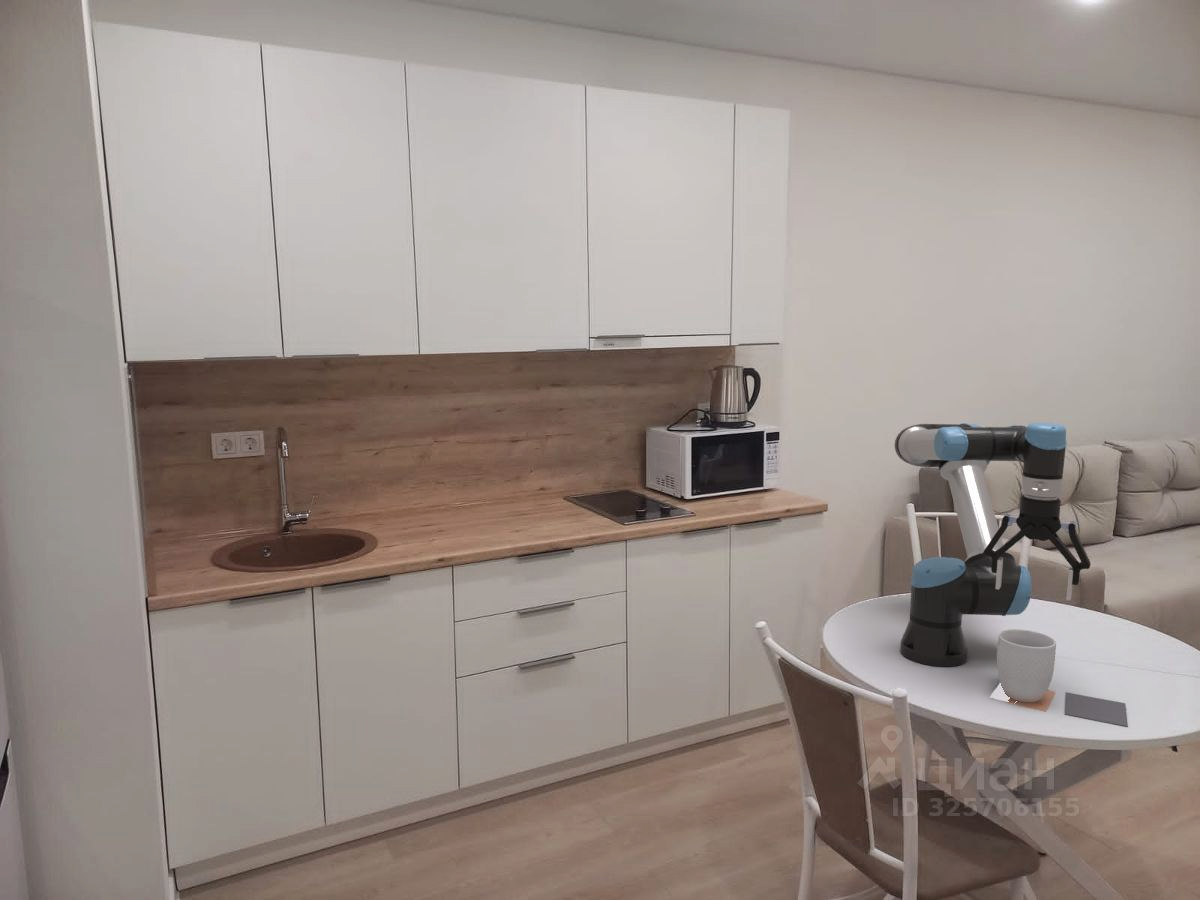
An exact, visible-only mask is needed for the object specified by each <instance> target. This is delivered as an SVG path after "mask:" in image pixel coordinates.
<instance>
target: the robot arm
mask: <svg viewBox="0 0 1200 900" xmlns="http://www.w3.org/2000/svg"><path fill="white" fill-rule="evenodd" d="M1066 448H1067V429H1066V427H1065V426H1064V425H1063V424H1060V423H1054V422H1052V423H1051V422H1031V423H1029V424H1027V426H1025V425H1016V424H1015V425H1014V424H1011V425H1008V426H1003V427H1002V426H999V427H998V426H989V427H987V426H985V427H982V426H980V425H978V424H968V423H966V422H965V423H959V424H958V423H956V424H955V423H954V424H953V423H952V424H950V423H949V424H948V423H947V424H945V423H920V424H913V425H911V426H908V427H905V428H903V429H902V430H901V431H900V432H898V434H897V435H896V438H895V440H894V450H895V453H896V455H897V457H898V458H899V459H900V460H901V461H902V462H905V463H907V464H909V465H911V466H915V467H921V468H938V470H939V474H940V477H942V479H944V480H946V481H948V485H949V488H950V491H951V493H950V494H951V496H952V500H953V504H954V509H955V512H956V515H957V519H958V524H959V528H960V532H961V536H962V539H963V543H964V548H965V552H966V556H967V557H966V559H965V560H964V561H963V560H962V559H960V558H957V557H947V556H937V557H929V558H923V559H921V560H919V561H918V562H916V563H915V564H914V565H913V567H912V573H911V574H912V575H911V578H910V586H911V587H910V602H909V604H910V607H909V619H908V620H909V621H908V623H907V626H906V628H905V631H904V633H903V634H902V638H901V639H900V644H899V645H900V650H899V651H900V654H901V655H902V656H904V657H905V658H907V659H908V660H911V661H913V662H916V663H920V664H923V665H928V666H935V667H957V666H961V665H963V664H965V663H966V662H967V661H968V653H969V651H968V647H967V643H966V640H965V636H964V632H963V629H962V622H963V621H962V619H963V616H964V615H973V616H974V615H977V616H979V615H980V616H982V615H984V616H1002V617H1005V616H1017V615H1021V614H1023V612H1024V611H1026V609H1027V608H1028V606H1029V603H1030V601H1031V600H1030V599H1031V596H1032V589H1033V587H1032V584H1033V583H1032V577H1031V573H1030V571H1029V569H1028V568H1027V567H1025V566H1023V565H1017V564H1016V560H1015V556H1014V555H1013V554H1012V553H1011V552H1009V551H1008V550H1010V549H1011V548H1012V547H1013V546H1014V545H1015V544H1017V543H1018V542H1019V541H1021V540H1022V539H1023V538H1024V537H1025V538H1027V539H1028V540H1033V541H1034V540H1039V542H1040V541H1041V542H1045V541H1048V540H1049V541H1050V542H1051V544H1052V545H1053V546H1055V548H1056V549H1057V550H1058V552H1059V553H1060V554H1061V555H1062V557H1063V558H1064V559H1065V561H1066V562H1067V563H1068V564H1069V565H1070V567H1069V568H1068V569H1069V570H1068V578H1067V589H1066V601H1068V602H1069V601H1070V602H1071V600H1072V594H1073V585H1074V586H1078V585H1079V583H1080V576H1081V571H1082V570H1089V569H1090V568H1091V561H1090V559H1089V556H1088V554H1087V551H1086V550H1085V548H1084V546H1083V543H1082V542H1081V539H1080V537H1079V535H1078V533H1077V523H1076V522H1075V521H1070V522H1061V520H1060V514H1061V513H1060V512H1061V505H1062V504H1061V503H1062V502H1061V500H1060V497H1062V491H1063V490H1062V489H1063V483H1064V482H1063V479H1064V478H1063V477H1064V476H1063V475H1064V468H1065V458H1066V457H1065V456H1066ZM990 462H1020V463H1023V465H1022V466H1023V467H1022V476H1021V477H1022V479H1021V489H1020V493H1021V494H1022V496H1021V497H1020V503H1019V504H1020V505H1019V515H1018V516H1017V517H1016V516H1014V515H1010V514H1009V513H1006V514H1004V516H1003V517H1002V520H1001V525H1000V526H998V525H999V524H998V521H997V517H996V514H995V511H994V507H993V503H992V501H991V497H990V492H989V489H988V486H987V483H986V478H985V476H984V472H985V471H987V468H988V465H989V464H990ZM1015 523H1016V525H1017V527H1018V528H1019V530H1018V532H1016V533H1015V534H1013V536H1012V537H1010V538H1009V539H1008V540H1007V541H1006V542H1005V543H1004V542H1003V539H1002V535H1004V533H1005V531H1006V530H1007V528H1008V527H1011V526H1012V525H1013V524H1015ZM1060 529H1063V531H1064V533H1066V534H1068V537H1069V539H1070V541H1071V543H1072V545H1073V547H1074V550H1075V552H1076V553H1077V556H1078V558H1079V561H1078V560H1077V558H1076V557H1075V555H1074V554H1073V553H1072V551H1070V550H1069V548H1068V547H1067V545H1065V543H1064V541H1062V539H1061V537H1060V536H1059V535H1058V534H1057V533H1058V531H1060Z"/></svg>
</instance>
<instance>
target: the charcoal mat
mask: <svg viewBox="0 0 1200 900" xmlns="http://www.w3.org/2000/svg"><path fill="white" fill-rule="evenodd" d="M1064 695H1065V697H1064V713H1063V714H1064V716H1069V717H1073V718H1079V719H1084V720H1088V721H1089V720H1090V721H1093V722H1094V721H1095V722H1099V723H1104V724H1108V725H1114V726H1119V727H1124V728H1129V724H1128V723H1129V722H1128V715H1127V714H1128V713H1127V706H1126V702H1119V701H1116V700H1110V699H1105V698H1099V697H1093V696H1088V695H1083V694H1077V693H1071V692H1067V691H1065V694H1064Z"/></svg>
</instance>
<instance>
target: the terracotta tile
mask: <svg viewBox="0 0 1200 900" xmlns="http://www.w3.org/2000/svg"><path fill="white" fill-rule="evenodd" d="M1056 693H1057V692H1056V691H1053V690H1049V689H1048V690H1047V692H1046V694H1045V695H1044V696H1043V697H1042V698H1041V699H1040V700H1039V701H1037V702H1033V703H1027V702H1020V701H1017V700H1014V699H1011V698H1010V699H1009V700H1008V701H1009V704H1011V703H1012V705H1015V704H1016V705H1017V706H1020V707H1025V708H1029V709H1033V710H1036V711H1037V710H1038V711H1041V712H1046V713H1047V711H1048V709H1049V707H1050V705H1051V702H1052V701H1053V699H1054V697H1055V695H1056ZM1016 701H1017V702H1016ZM1015 702H1016V703H1015ZM1014 703H1015V704H1014Z"/></svg>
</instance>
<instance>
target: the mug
mask: <svg viewBox="0 0 1200 900" xmlns="http://www.w3.org/2000/svg"><path fill="white" fill-rule="evenodd" d="M997 640H998V641H997V649H996V668H997V676H998V681H999V682H1000V683H1001V686H1002V688H1003V690H1004V692H1005V694H1006V695H1007V696H1008V697H1010V698H1011V699H1014V700H1017V701H1020V702H1027V703H1033V702H1037V701H1039V700H1040V699H1041V698H1042V697H1043V696H1044V695H1045V694H1046V692H1047V690H1049V688H1050V685H1051V682H1052V680H1053V677H1054V671H1055V661H1056V649H1057V648H1056V647H1057V642H1056V640H1055V639H1054V638H1053V637H1051V636H1049V635H1047V634H1044V633H1042V632H1037V631H1032V630H1027V629H1018V628H1017V629H1016V628H1015V629H1011V628H1010V629H1004V630H1001V631H1000V632H999V633H998V639H997Z"/></svg>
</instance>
